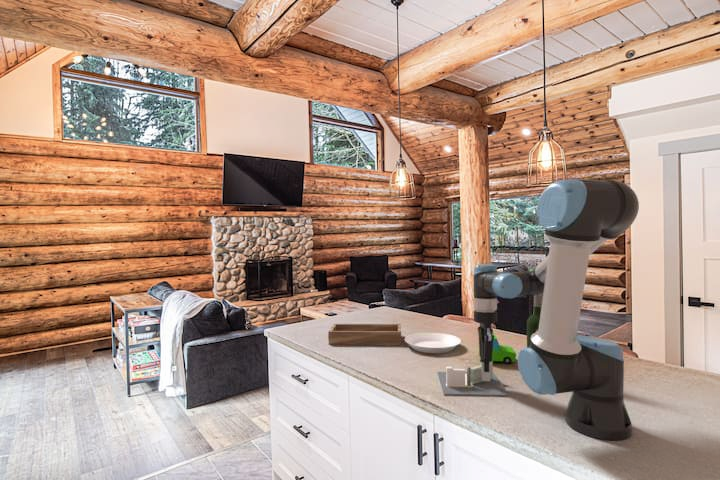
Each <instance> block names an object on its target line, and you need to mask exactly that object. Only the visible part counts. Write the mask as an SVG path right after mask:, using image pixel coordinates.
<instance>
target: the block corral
mask: <svg viewBox="0 0 720 480" xmlns="http://www.w3.org/2000/svg"><path fill="white" fill-rule="evenodd" d="M327 333H328V335H327V336H328V340H327V341H328V345H329V344H333V345H341V346H342V345H343V346H345V345H348V346H350V345H354V346H355V345H357V346H360V345H361V346H363V345H364V346H365V345H366V346H368V345H370V346H402V324H401V323H333V325H331V327H330V328H329V331H328V332H327Z"/></svg>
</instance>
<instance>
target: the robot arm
mask: <svg viewBox="0 0 720 480" xmlns="http://www.w3.org/2000/svg"><path fill="white" fill-rule="evenodd" d="M639 205H640V202H639V199H638V196H637V194H636V192H635V191H634V190H633V188H632V187H630V186H629V185H627V184H626V183H624V182H622V181H621V180H615V179H576V178H575V179H571V178H570V179H562V180H560V179H559V180H556V181H554V182H552V183H550V184H548V186H547V187H546V188H545V189H544V190H543V191H542V192H541V194H540V196H539V198H538V201H537V206H536V217H537V218H538V220H537V222H538V223H539V225H540V226H541V227H542V228H543V229H544V236H545V237H546V238H547V240H549V243H550V244H549V250H548V254H547V256H545V257H544V259H542V260H541V261H540V262H539V263H538V264H537V265H536V267H534V268H533V269H532V270H529V271H508V272H507V271H505V272H504V271H503V272H501V271H498V268H497V265H496V264H489V263H487V264H484V263H483V264H480V263H479V264H476V265H474V267H473V275H472V277H473V309H474V310H473V321H474V322H475V323H477V324H479V326H478V327H477V334H478V356H479V355H480V356H479V359H480V357H481V359H480V360H479V362H481V363H480V365H481V380H482V381H490V362H492V352H493V340H494V335H492V334H493V333H494V330H493V329H494V328H492V324H493V325H494V324H496V323H498V312H497V310H498V304H499V303H500V302H499V300H498V297H500V298H503V299H514V298H517V297H520V296H522V297H523V296H534V295H540V294H541V295H542V307H541V314H540V321H539V329H538V332H536V333H534V334H532V335H531V340H530V346H529V348H528V347H527V346H525V347H524V348H522V349H520V350H519V352H518V354H517V367H518V370H519V373H520V376H521V378H522V380H523V381H524V383H525V385H526V386H527V387H528V388H529V390H531V391H532V392H533V393H535V394H537V395H541V396H543V395H545V396H546V395H551V396H553V395H556V394H563V393H571V396H570V399H569V401H568V403H567V406H566V409H565V414H564V417H565V423H566V425H568V426H569V427H570V428H571V429H573V430H575V431H576V432H578V433H580V434H582V435H585V436H588V437H592V438H595V439H600V440H607V441H608V440H609V441H619V440H620V441H621V440H625V439H626V440H627V439H628V438H630V437H631V436H632V435H633V425H632V421H631V418H630V415H629V413H628V410H627V407H626V405H625V400H624V384H625V383H624V380H625V378H624V372H625V371H624V369H625V365H624V364H625V363H624V362H625V359H624V351H623V348H622V346H621V345H620V344H618V343H617V342H614V341H611V340H608V339H605V338H600V337H595V336H589V335H581V334H580V335H579V334H577V333H578V326H579V321H580V316H581V315H580V314H581V308H582V303H583V302H582V301H583V298H584V292H585V291H584V290H585V283H586V278H587V272H588V267H589V261H590V256H591V255H592V254H593V253H594V252H596V251H597V250H598V249H599V248H600V247H601V246H603V244H605V243H606V242H607V241H608V240H611V241H613V240H617V238H619V236H621V235H622V234H624V233H625V232H626V230H628V229H629V228H630V227H631V226H632V224H633V223H634V222H635V220H636V219H637V217H638V214H639V210H640V209H639V207H640V206H639ZM479 352H480V354H479Z"/></svg>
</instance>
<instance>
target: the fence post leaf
mask: <svg viewBox="0 0 720 480" xmlns="http://www.w3.org/2000/svg"><path fill="white" fill-rule="evenodd" d="M471 368H472V367H470V366H467V367H466V370H465V368H453V367H452V366H446V367H445V372H446V384H447V386H465V372H467V386H471Z"/></svg>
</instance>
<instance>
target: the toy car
mask: <svg viewBox="0 0 720 480" xmlns="http://www.w3.org/2000/svg"><path fill="white" fill-rule="evenodd" d="M492 335H494V340H493V352H492V361H493V362H503V363H504V364H505V365H510V364H511V363H512V362H514V363H515V362H516V361H517V353H516V352H515V350H514V348H513V347H512V346H508V345H502V344H500V343H499V341H498V338H497V335H495V333H494V332H493V334H492ZM479 354H480V352H479V351H478V356H479V359H481V357H480V355H479Z"/></svg>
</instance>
